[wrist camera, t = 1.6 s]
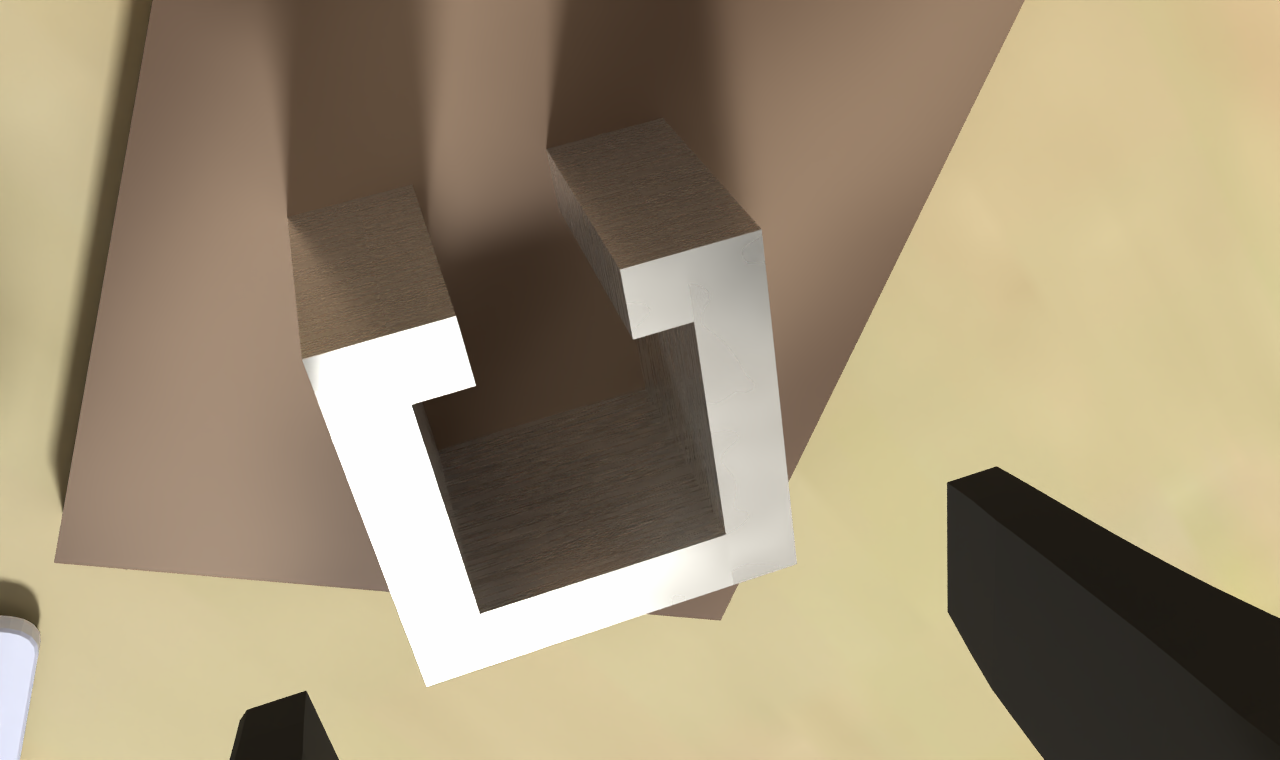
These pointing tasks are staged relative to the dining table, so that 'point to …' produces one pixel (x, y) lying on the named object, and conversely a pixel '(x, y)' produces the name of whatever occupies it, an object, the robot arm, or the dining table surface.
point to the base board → (469, 230)
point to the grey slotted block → (565, 442)
